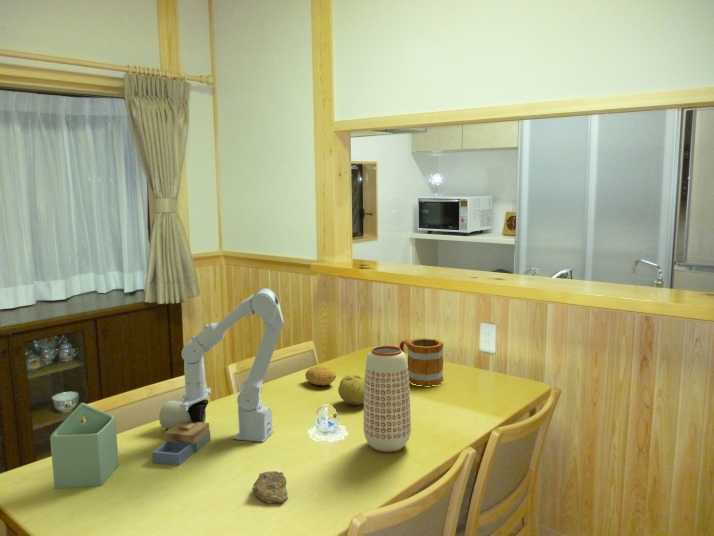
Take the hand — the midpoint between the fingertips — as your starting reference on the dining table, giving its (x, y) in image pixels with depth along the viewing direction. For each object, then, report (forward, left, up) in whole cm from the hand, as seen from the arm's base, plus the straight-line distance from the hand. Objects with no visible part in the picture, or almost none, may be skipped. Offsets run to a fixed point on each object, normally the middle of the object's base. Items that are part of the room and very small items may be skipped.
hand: (197, 425), depth 173 cm
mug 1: (+13, -7, 0) cm, 14 cm away
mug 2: (-57, -66, -4) cm, 87 cm away
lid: (0, +6, -1) cm, 6 cm away
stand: (0, +5, -4) cm, 6 cm away
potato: (-22, -53, -4) cm, 57 cm away
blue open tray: (0, +13, -4) cm, 14 cm away
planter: (+13, +29, -4) cm, 32 cm away
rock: (-34, +26, -4) cm, 43 cm away
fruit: (-39, -36, -4) cm, 53 cm away
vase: (-56, -6, -4) cm, 56 cm away
